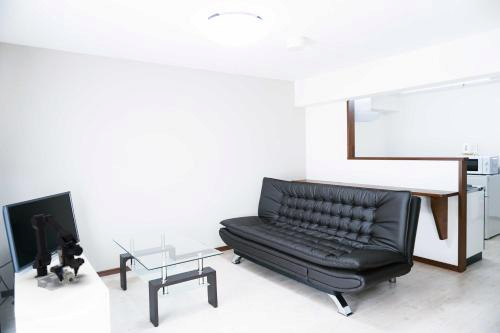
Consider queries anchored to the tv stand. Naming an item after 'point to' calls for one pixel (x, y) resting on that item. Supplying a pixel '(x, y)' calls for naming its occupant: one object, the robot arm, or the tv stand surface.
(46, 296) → the tv stand surface
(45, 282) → the grey backboard with ledge
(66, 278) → the cream cube with dome
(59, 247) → the coffee cup
